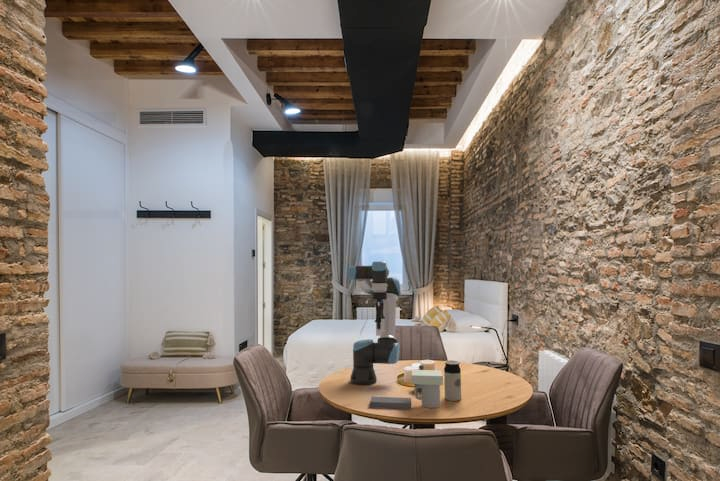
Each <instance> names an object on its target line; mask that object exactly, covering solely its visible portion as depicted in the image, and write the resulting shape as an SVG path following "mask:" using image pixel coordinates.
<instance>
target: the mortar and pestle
mask: <svg viewBox="0 0 720 481" xmlns="http://www.w3.org/2000/svg"><path fill="white" fill-rule="evenodd" d="M418 370H425V367H424V365H422V364H421V365H419V366H418ZM413 385H414V386H415V387H416V386H417V385H421V384H413ZM416 392H420V393H422V389H421V388H418V389H417V391H416Z"/></svg>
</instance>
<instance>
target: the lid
mask: <svg viewBox="0 0 720 481" xmlns="http://www.w3.org/2000/svg"><path fill="white" fill-rule="evenodd" d="M443 376H444V375H443V373H442V370H437V369H424V370H419V369H411V384H412V385H414V384H421V385H440V386H443V385H444V383H443V382H444V380H443V379H444V378H443Z"/></svg>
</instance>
